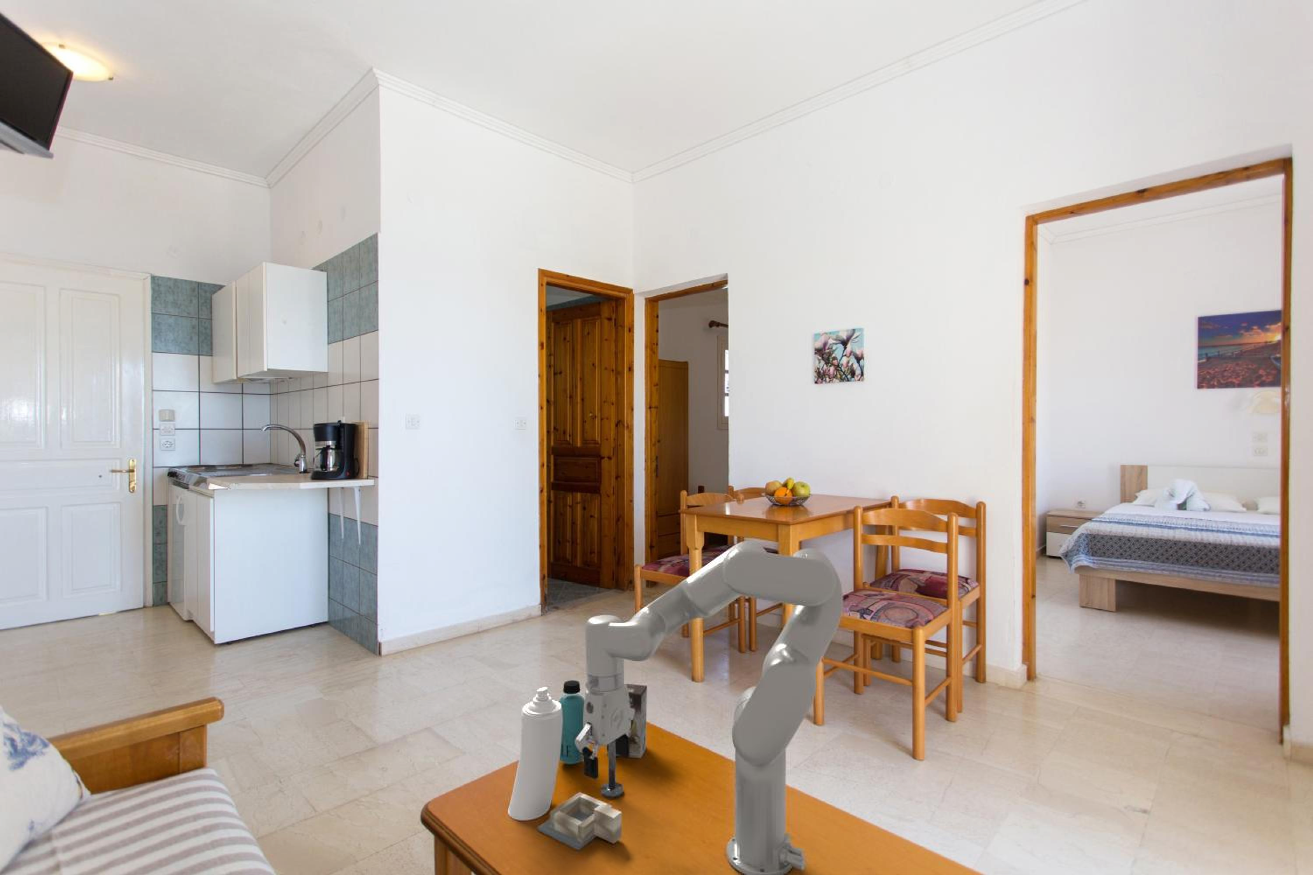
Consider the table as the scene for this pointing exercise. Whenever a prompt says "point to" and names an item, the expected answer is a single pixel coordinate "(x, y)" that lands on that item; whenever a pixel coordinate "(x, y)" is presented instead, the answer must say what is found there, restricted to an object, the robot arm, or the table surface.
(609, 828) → the cream square frame
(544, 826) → the mat
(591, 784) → the table surface
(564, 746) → the beverage bottle
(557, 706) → the spray can
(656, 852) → the table surface
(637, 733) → the coffee box
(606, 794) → the stand
